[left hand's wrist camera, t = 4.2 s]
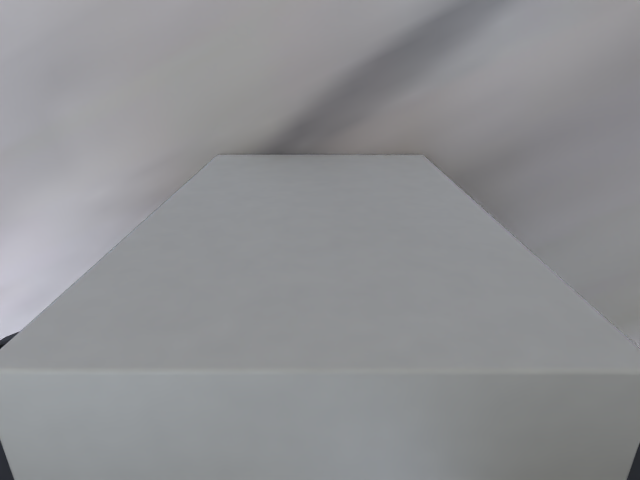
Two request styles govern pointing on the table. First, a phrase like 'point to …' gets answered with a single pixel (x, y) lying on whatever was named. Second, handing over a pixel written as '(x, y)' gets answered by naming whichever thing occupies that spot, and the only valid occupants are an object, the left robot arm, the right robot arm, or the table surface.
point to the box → (320, 341)
